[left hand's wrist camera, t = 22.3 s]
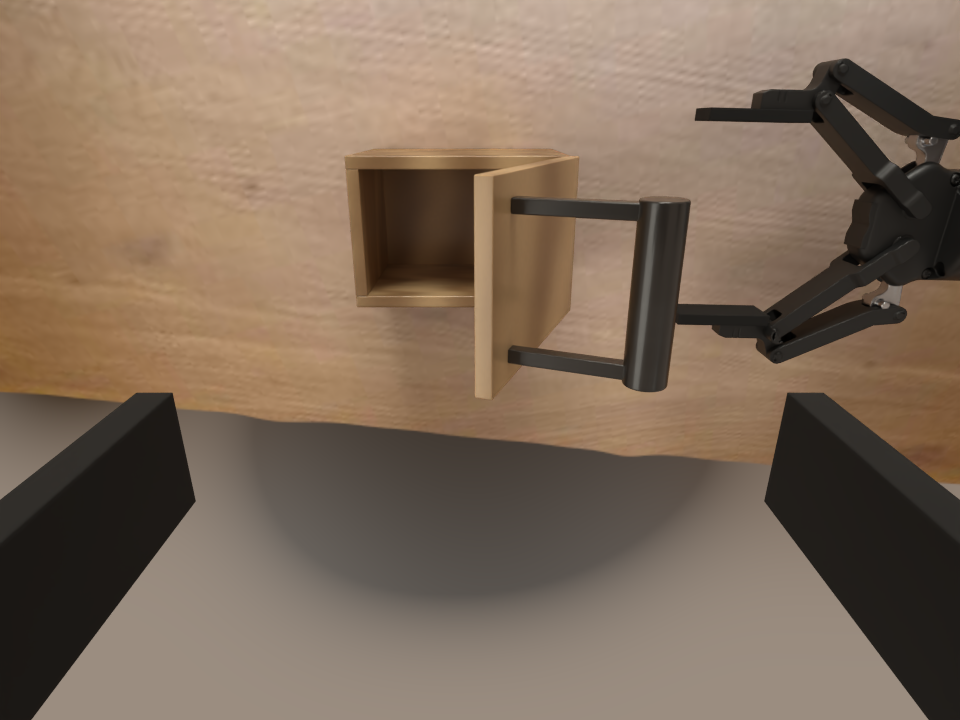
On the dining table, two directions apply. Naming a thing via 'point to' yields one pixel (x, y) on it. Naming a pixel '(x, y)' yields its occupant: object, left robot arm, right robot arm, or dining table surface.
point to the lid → (566, 275)
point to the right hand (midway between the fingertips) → (685, 220)
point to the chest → (419, 222)
